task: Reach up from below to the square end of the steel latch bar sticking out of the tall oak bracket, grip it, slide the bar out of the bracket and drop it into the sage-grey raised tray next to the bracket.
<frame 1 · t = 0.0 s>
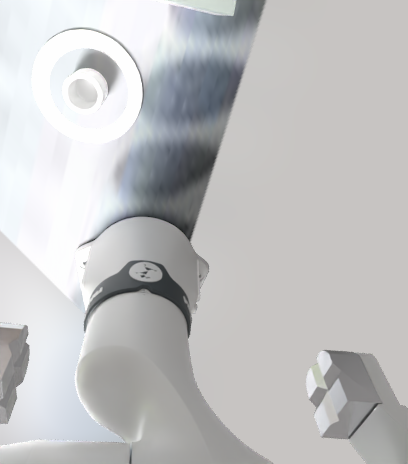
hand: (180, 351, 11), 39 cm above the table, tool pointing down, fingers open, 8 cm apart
candle holder: (89, 88, 44), on the table
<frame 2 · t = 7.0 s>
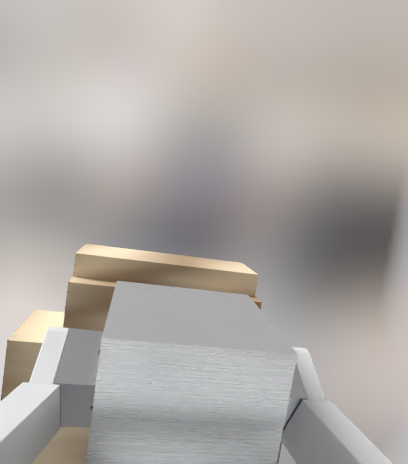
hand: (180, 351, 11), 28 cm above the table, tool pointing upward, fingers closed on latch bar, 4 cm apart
latch bar: (169, 455, 10), point 26 cm above the table, touching gripper, oak bracket
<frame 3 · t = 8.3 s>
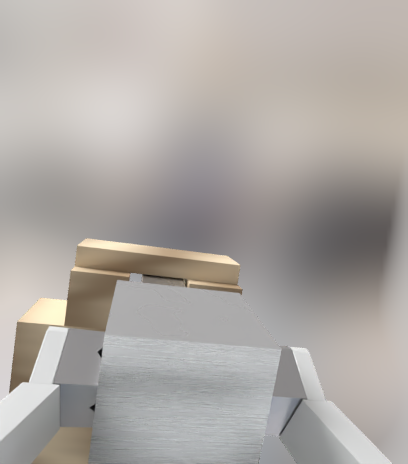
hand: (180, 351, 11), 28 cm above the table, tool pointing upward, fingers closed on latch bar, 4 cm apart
latch bar: (165, 441, 11), point 25 cm above the table, touching gripper
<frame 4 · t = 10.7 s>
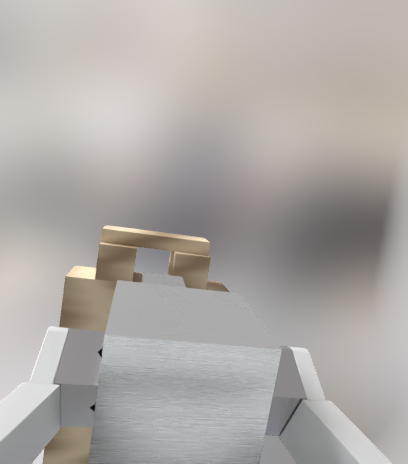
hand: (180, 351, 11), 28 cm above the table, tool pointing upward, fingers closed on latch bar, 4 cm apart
latch bar: (165, 441, 11), point 26 cm above the table, touching gripper
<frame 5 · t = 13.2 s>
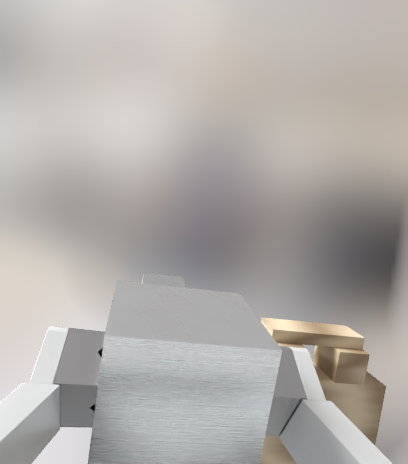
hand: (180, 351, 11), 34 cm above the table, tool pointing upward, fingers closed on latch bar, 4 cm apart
latch bar: (165, 442, 11), point 32 cm above the table, touching gripper
when the fingers open (20 cm above the table, at t = 18.0 s): latch bar drops 9 cm, resting on raised tray.
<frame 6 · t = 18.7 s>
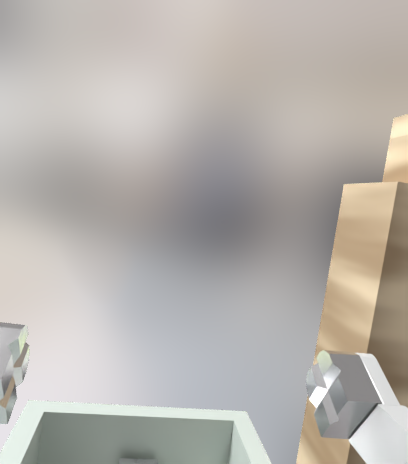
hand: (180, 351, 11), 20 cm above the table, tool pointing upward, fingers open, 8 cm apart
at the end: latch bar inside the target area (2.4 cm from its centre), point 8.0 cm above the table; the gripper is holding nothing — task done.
